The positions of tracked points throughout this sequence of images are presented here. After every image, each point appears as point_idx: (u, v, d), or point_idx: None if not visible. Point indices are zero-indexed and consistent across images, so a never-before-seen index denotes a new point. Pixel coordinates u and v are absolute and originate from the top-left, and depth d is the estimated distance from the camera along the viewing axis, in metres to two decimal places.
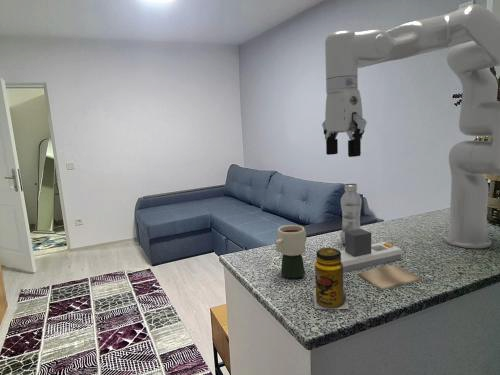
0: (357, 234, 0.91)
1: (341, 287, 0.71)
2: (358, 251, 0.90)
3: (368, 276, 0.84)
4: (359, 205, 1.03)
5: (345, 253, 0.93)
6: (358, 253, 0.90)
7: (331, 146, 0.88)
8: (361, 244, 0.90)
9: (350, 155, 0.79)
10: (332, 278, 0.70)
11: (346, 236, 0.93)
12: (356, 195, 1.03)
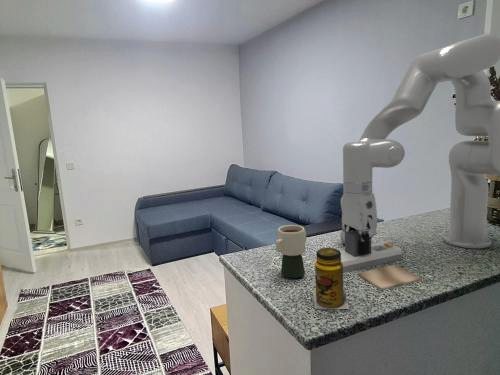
0: (357, 234, 0.91)
1: (341, 287, 0.71)
2: None
3: (368, 276, 0.84)
4: None
5: (345, 253, 0.93)
6: None
7: None
8: None
9: (360, 254, 0.90)
10: (332, 278, 0.70)
11: (346, 236, 0.93)
12: None
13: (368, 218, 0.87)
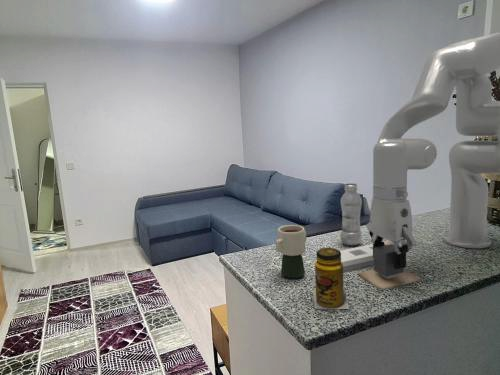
0: (388, 250, 0.81)
1: (341, 287, 0.71)
2: (390, 270, 0.81)
3: (368, 276, 0.84)
4: (359, 205, 1.03)
5: (345, 253, 0.93)
6: (389, 272, 0.81)
7: None
8: (393, 262, 0.81)
9: (396, 268, 0.79)
10: (332, 278, 0.70)
11: (375, 252, 0.83)
12: (356, 195, 1.03)
13: (403, 228, 0.76)
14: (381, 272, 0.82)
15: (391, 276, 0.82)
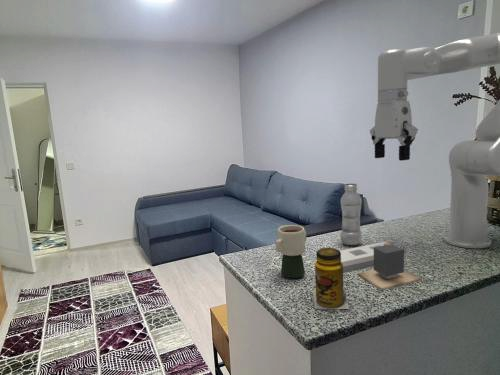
0: (388, 250, 0.81)
1: (341, 287, 0.71)
2: (390, 270, 0.81)
3: (368, 276, 0.84)
4: (359, 205, 1.03)
5: (345, 253, 0.93)
6: (389, 272, 0.81)
7: (379, 150, 0.98)
8: (393, 262, 0.81)
9: (401, 159, 0.89)
10: (332, 278, 0.70)
11: (375, 252, 0.83)
12: (356, 195, 1.03)
13: None
14: (381, 272, 0.82)
15: (391, 276, 0.82)
